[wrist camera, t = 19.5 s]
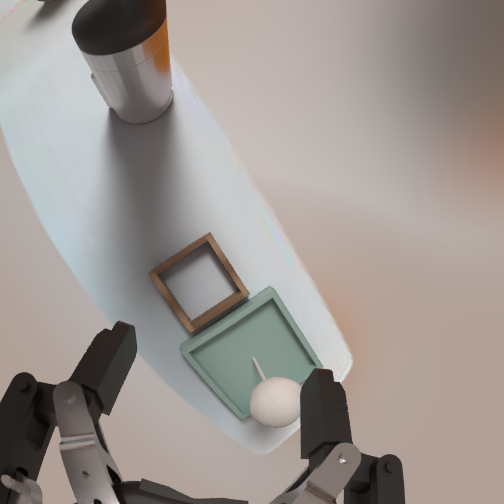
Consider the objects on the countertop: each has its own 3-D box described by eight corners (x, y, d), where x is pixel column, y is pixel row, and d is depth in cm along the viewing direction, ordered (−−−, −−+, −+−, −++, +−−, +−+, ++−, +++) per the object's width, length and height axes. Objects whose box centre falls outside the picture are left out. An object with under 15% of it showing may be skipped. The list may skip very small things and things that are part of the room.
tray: (180, 344, 36) (179, 351, 34) (269, 285, 38) (274, 289, 36) (239, 411, 38) (241, 420, 36) (316, 360, 41) (323, 366, 38)
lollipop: (257, 331, 37) (293, 382, 23) (281, 357, 38) (324, 411, 24) (224, 358, 37) (242, 420, 22) (249, 382, 38) (277, 446, 23)
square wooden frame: (150, 271, 35) (147, 273, 33) (209, 232, 36) (209, 232, 34) (190, 328, 36) (190, 333, 34) (247, 291, 38) (250, 293, 36)
